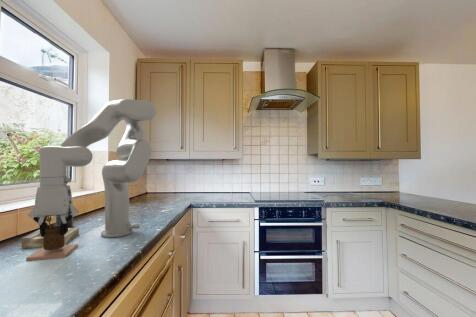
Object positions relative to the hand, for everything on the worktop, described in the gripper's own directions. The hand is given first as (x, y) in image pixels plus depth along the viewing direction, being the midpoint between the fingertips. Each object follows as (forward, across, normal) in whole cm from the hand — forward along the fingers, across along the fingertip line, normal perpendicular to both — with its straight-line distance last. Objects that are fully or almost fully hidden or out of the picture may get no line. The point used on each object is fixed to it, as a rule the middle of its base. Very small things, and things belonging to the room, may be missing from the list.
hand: (54, 234), depth 89 cm
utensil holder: (+5, 0, 0) cm, 5 cm away
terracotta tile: (+6, 0, 0) cm, 6 cm away
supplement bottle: (+7, +11, -38) cm, 40 cm away
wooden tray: (+6, +7, -16) cm, 19 cm away
